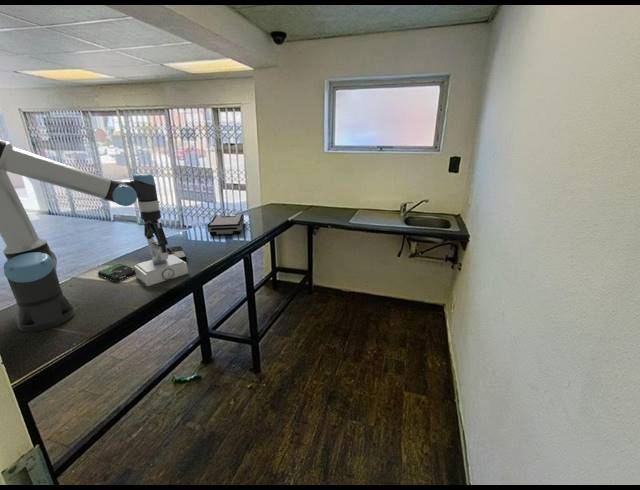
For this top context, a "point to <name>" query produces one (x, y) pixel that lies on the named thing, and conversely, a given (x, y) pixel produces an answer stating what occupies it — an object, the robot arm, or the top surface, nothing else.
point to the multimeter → (177, 252)
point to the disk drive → (117, 272)
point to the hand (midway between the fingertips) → (158, 255)
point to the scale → (160, 270)
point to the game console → (225, 225)
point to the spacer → (156, 254)
